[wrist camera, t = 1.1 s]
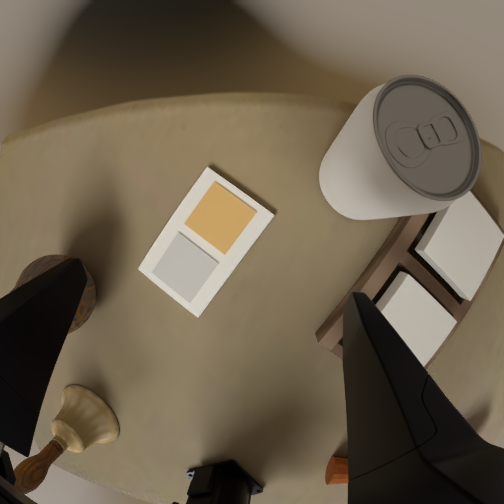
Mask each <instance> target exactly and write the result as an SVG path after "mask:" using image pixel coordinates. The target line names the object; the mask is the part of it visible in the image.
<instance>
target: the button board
mask: <svg viewBox="0 0 504 504" xmlns="http://www.w3.org/2000/svg"><path fill="white" fill-rule="evenodd" d="M469 191H470V192H471V193H472V194H473V195H474V197H475V198H476V199H477V200H478V201H479V203H480V204H481V205H482V206H483V208H484V209H485V210H486V211H487V213H488V214H489V215H490V217H491V218H492V219H493V221H494V222H495V223H496V225H497V226H498V228H499V229H500V230H501V232H502V233H503V235H504V230H503V229H502V227H501V226H500V225H499V223H498V222H497V220H496V219H495V218H494V216H493V215H492V214H491V212H490V211H489V210H488V208H487V207H486V206H485V205H484V203H483V202H482V201H481V200H480V198H479V197H478V196H477V195H476V194H475V192H474V191H473V190H472V189H470V190H469ZM429 214H430V213H427V214H419V215H411V216H402V217H401V218H400V220H399V221H398V223H397V224H396V226H395V227H394V229H393V230H392V232H391V234H390V235H389V236H388V238H387V239H386V241H385V242H384V244H383V245H382V247H381V248H380V250H379V251H378V253H377V254H376V255H375V257H374V258H373V260H372V261H371V262H370V264H369V265H368V267H367V268H366V269H365V271H364V272H363V273H362V275H361V276H360V278H359V279H358V280H357V282H356V283H355V284H354V286H353V287H352V288H351V289H350V291H349V292H348V293H347V295H346V296H345V297H344V299H343V300H342V301H341V302H340V304H339V305H338V306H337V307H336V309H335V310H334V311H333V312H332V314H331V315H330V316H329V317H328V319H327V320H326V321H325V322H324V323H323V325H322V326H321V327H320V328H319V330H318V331H317V332H316V333H315V335H316V337H317V340H318V343H320V344H321V345H323V346H324V347H325V348H327V349H328V350H330V351H331V352H333V353H334V354H335V355H337V356H338V357H340V358H341V359H343V341H341V340H340V339H341V338H342V337H343V312H344V308H345V306H346V303H347V300H348V298H349V295H350V293H351V292H353V291H357V292H364V293H365V294H366V295H367V296H368V297H369V298H370V299H371V301H372V299H373V298H374V297H375V295H376V294H377V293H378V291H379V290H380V289H381V287H382V286H383V284H384V283H385V282H386V280H387V279H388V277H389V276H390V275H391V273H392V272H393V270H394V269H395V267H396V266H398V267H399V268H400V269H401V270H402V271H403V272H404V273H407V274H409V275H410V276H411V277H412V278H413V279H414V280H415V281H417V282H418V283H419V284H420V285H421V286H422V287H423V288H424V289H425V290H426V291H427V292H428V293H429V294H430V295H431V296H432V297H433V298H434V299H435V300H436V301H437V302H438V303H439V304H440V305H441V306H442V307H443V308H444V309H445V310H446V311H447V312H448V313H449V314H450V315H451V316H452V317H453V318H454V319H455V320H456V321H457V323H456V324H455V326H454V327H453V329H452V330H451V332H450V333H449V335H448V336H447V337H446V339H445V340H444V342H443V343H442V344H441V346H440V347H439V348H438V350H437V351H436V352H435V354H434V355H433V356H432V357H431V359H430V360H429V361H428V362H427V364H426V365H425V366H424V368H425V369H427V367H428V366H429V365H430V364H431V362H432V361H433V360H434V359H435V357H436V356H437V355H438V353H439V352H440V351H441V349H442V348H443V347H444V345H445V344H446V343H447V341H448V340H449V339H450V337H451V336H452V334H453V333H454V331H455V330H456V328H457V327H458V326H459V324H460V323H461V321H462V319H463V318H464V316H465V315H466V313H467V312H468V310H469V308H470V307H471V305H472V304H473V302H474V300H475V299H476V297H477V295H478V293H479V292H480V290H481V288H482V286H483V285H484V283H485V281H486V279H487V277H488V275H489V274H490V272H491V270H492V268H493V266H494V264H495V262H496V260H497V258H498V256H499V253H500V251H501V249H502V247H503V245H504V238H503V240H502V242H501V245H500V247H499V249H498V251H497V253H496V255H495V257H494V259H493V261H492V263H491V265H490V267H489V269H488V271H487V273H486V275H485V277H484V279H483V280H482V282H481V284H480V286H479V288H478V289H477V291H476V293H475V294H474V296H473V298H472V299H471V301H469V300H466V299H464V298H461V297H460V296H459V295H458V294H457V293H456V292H455V291H454V293H453V295H452V296H451V295H450V293H449V292H448V291H447V290H446V289H445V288H444V287H443V286H442V285H441V284H440V283H439V282H438V281H437V280H436V279H435V278H434V277H433V276H432V275H431V274H430V273H429V272H428V271H427V270H426V269H425V268H424V267H423V266H422V265H421V264H420V263H419V262H418V261H417V260H416V259H415V258H414V257H413V256H411V255H410V254H409V253H408V252H407V250H408V248H409V246H410V245H411V243H412V242H413V240H414V239H415V237H416V236H417V234H418V232H419V231H420V229H421V227H422V226H423V224H424V222H425V221H426V219H427V217H428V216H429Z"/></svg>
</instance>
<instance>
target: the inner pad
mask: <svg viewBox="0 0 504 504" xmlns="http://www.w3.org/2000/svg"><path fill="white" fill-rule="evenodd" d="M375 306H376V307H377V308H378V309H379V310H380V312H381V313H382V314H383V315H384V317H385V318H386V319H387V320H388V321H389V323H390V324H391V325H392V326H393V328H394V329H395V330H396V331H397V333H398V334H399V335H400V337H401V338H402V339H403V340H404V342H405V343H406V344H407V346H408V347H409V348H410V349H411V351H412V352H413V353H414V355H415V356H416V357H417V359H418V360H419V361H420V363H421V364H422V365H423V367H424V366H425V365H426V364H427V362H428V361H429V360H430V359H431V357H432V356H433V355H434V354H435V352H436V351H437V350H438V348H439V347H440V346H441V344H442V343H443V342H444V340H445V339H446V337H447V336H448V335H449V333H450V332H451V330H452V329H453V327H454V326H455V324H456V323H457V321H456V320H455V319H454V318H453V317H452V316H451V315H450V314H449V313H448V312H447V311H446V310H445V309H444V308H443V307H442V306H441V305H440V304H439V303H438V302H437V301H436V300H435V299H434V298H433V297H432V296H431V295H430V294H429V293H428V292H427V291H426V290H425V289H424V288H423V287H422V286H421V285H420V284H419V283H418V282H417V281H415V280H414V279H413V278H412V277H411V276H410V275H409V274H407V273H404V272H401V271H400V272H399V273H398V275H397V276H396V278H395V279H394V280H393V282H392V283H391V285H390V286H389V287H388V289H387V290H386V292H385V293H384V294H383V296H382V297H381V298H380V300H379V301H378V302H377V304H376V305H375Z"/></svg>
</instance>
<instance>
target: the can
mask: <svg viewBox="0 0 504 504" xmlns="http://www.w3.org/2000/svg"><path fill="white" fill-rule="evenodd" d="M480 167H481V145H480V140H479V136H478V132H477V129H476V127H475V124H474V122H473V120H472V118H471V116H470V115H469V113H468V111H467V110H466V108H465V107H464V105H463V104H462V103H461V102H460V101H459V99H458V98H457V97H455V95H454V94H453V93H451V92H450V91H449V90H448V89H447V88H445V87H444V86H442V85H441V84H439V83H437V82H436V81H433V80H431V79H429V78H426V77H422V76H417V75H404V76H399V77H396V78H394V79H392V80H390V81H389V82H387V83H385V84H383V85H380V86H378V87H376V88H374V89H373V90H371V91H370V92H369V93H368V94H367V95H366V96H365V97H364V98H363V99H362V100H361V101H360V103H359V104H358V105H357V107H356V108H355V110H354V111H353V113H352V114H351V116H350V117H349V119H348V120H347V122H346V123H345V125H344V126H343V128H342V129H341V131H340V132H339V134H338V135H337V137H336V138H335V140H334V142H333V143H332V145H331V146H330V148H329V149H328V151H327V152H326V154H325V156H324V158H323V160H322V162H321V166H320V171H319V183H320V187H321V190H322V193H323V195H324V196H325V198H326V200H327V201H328V203H329V204H330V205H331V206H332V207H333V208H334V209H335V210H336V211H337V212H338V213H340V214H341V215H343V216H345V217H348V218H351V219H355V220H372V219H382V218H392V217H402V216H411V215H419V214H427V213H433V212H437V211H439V210H442V209H444V208H446V207H448V206H450V205H451V204H452V203H453V202H455V201H456V200H457V199H458V198H460V197H462V196H464V195H465V194H466V193H467V192H468V191H469V190H470V189H471V188H472V187H473V185H474V184H475V182H476V180H477V178H478V175H479V172H480Z"/></svg>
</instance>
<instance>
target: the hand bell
mask: <svg viewBox="0 0 504 504" xmlns="http://www.w3.org/2000/svg"><path fill="white" fill-rule="evenodd" d="M61 401H62V408H61V410H60V412H59V414H58V415H57V416H56V418H55V419H54V420H53V421H52V423H51V429H52V432H53V434H54V436H55V437H54V438H53V439H52V440H51V441H50V442H49V444H47V445H46V447H45V448H44V449H43V450H42V451H41V452H40V453H39V454H37V455H35V456H32V457H29V458H27V459H25V460H24V461H22V462H21V463H20V464H19V465H18V466H17V467H16V468H15V469H14V474H15V477H16V481H15V485H14V487H15V488H16V489H18V490H19V491H20V492H22V493H23V494H27V493H29V492H31V491H33V490H35V489H36V488H37V487H38V486H39V485H40V484H41V483H42V482H43V480H44V479H45V477H46V474H47V472H48V469H49V467H50V465H51V464H52V463H53V462H54V461H55V460H56V459H57V458H58V457H59V456H60V455H61V454H62V453H63V452H64V451H65V450H66V449H68V450H70V451H72V452H75V453H80V452H82V451H84V450H85V449H86V448H87V447H89V446H90V445H92V444H94V443H97V442H99V443H110V442H113V441H115V440H116V439H117V437H118V435H119V425H118V422H117V419H116V417H115V415H114V413H113V412H112V410H111V409H110V408H109V406H108V405H107V404H106V403H105V402H104V401H103V400H102V399H101V398H100V397H99V396H98V395H97V394H95V393H94V392H92V391H91V390H89V389H87V388H85V387H82V386H79V385H70V386H68V387H66V388H65V389H64V391H63V394H62V399H61Z"/></svg>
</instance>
